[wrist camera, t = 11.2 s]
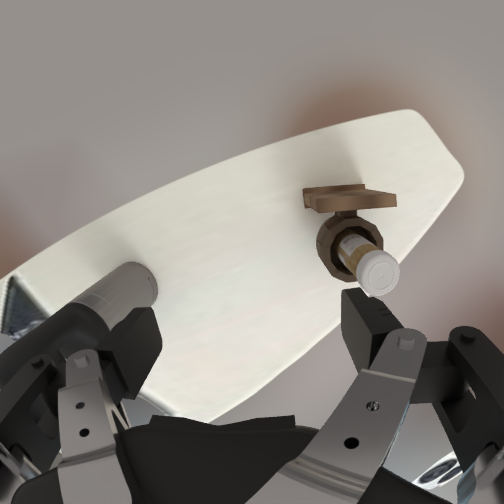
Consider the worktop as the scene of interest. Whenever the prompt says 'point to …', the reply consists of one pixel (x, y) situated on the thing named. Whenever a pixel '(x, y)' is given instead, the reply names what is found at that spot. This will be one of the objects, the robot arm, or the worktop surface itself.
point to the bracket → (345, 219)
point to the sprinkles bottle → (366, 262)
